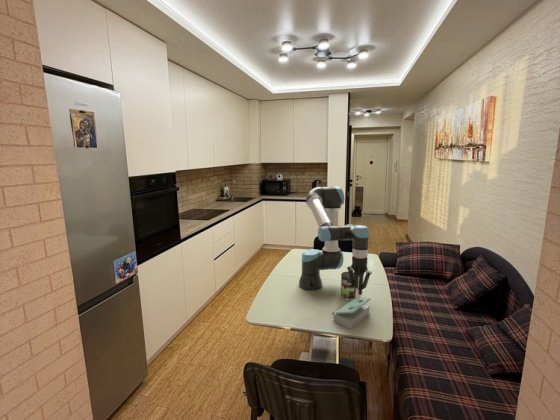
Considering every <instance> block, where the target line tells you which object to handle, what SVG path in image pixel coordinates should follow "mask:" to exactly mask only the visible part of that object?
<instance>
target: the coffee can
mask: <svg viewBox="0 0 560 420" xmlns="http://www.w3.org/2000/svg"><path fill="white" fill-rule="evenodd" d="M353 273H354V271H353ZM340 276H341V281H340V298H342V299H343V300H345V301H352V299H353V298H354V299H355V295H356V293H354V286H352V285H351V282H350V277H349V271H344V272H342V273H340Z"/></svg>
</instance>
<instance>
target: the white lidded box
mask: <svg viewBox="0 0 560 420" xmlns="http://www.w3.org/2000/svg"><path fill="white" fill-rule="evenodd" d="M353 299H354V298H353ZM353 299H352V300H353ZM352 300H351V301H352ZM369 313H370V305H367V304H364V305H363V306H362V307H361V308H359V309H358V310H357V311H355V312H354V313H342V314H336V313H335V312H332V313H331V314H332V315H333V323H336V324H338V325H341V326H343V327H346V328H348V329H353V327H354V326H356V325H357V324H358V323H359V322H360V321H362V320H363V319H364V318H365V317H366V316H368V315H369Z"/></svg>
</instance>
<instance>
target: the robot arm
mask: <svg viewBox="0 0 560 420" xmlns="http://www.w3.org/2000/svg"><path fill="white" fill-rule="evenodd" d="M305 203H306V206H307V207H308V208H309V209H310V210H311V212H312V215H313V217H314V219H315V221H316V223H317V225H318V230H317V235H318V240H319V241H320V242H324V246H323V247H322V249H321V250H322V251H320V249H312V248H311V249H307V250H305V251H303V252H302V255H301V276H300V277H299V281H298V286H299V287H300V288H301V289H303V290H307V291H316V290H319V289H321V288H322V287H323V281H322V278H321V274H320V271H325V270H326V271H327V270H328V271H329V270H338V269H341V268H342V266H343V264H344V260H345V259H344V253H343V251H341V248H340V247H339V241H351V242H352V248H351V249H352V251H351V255H352V256H351V265H349V266H347V267H346V269H347V272H349V277H350V282H351V285H352V286H354V293H356V295H355V300H356V301H359V300H360V299H362V298H361V297H362V296H361V295H362V294H363V290H364V289H366V288H367V286H368V283H369V280H370V277H371V275H372V274H373V272H372V270H371V271H370V270H369V269H368V255H369V252H368V251H369V238H370V237H369V236H370V231H369V230H370V229H369V227H368V226H366V225H363V224H360V225H359V224H357V225H355V224H352V223H347V224H345V225H339V212H340V210H341V208H342V206H343V205H344V203H345V194H344V191H343V189H342V187H340V186H317V187H313V188H312V189H311V190H309V192H307V195H306V199H305ZM353 272H354V273H353ZM364 275H365V276H364Z"/></svg>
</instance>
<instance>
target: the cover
mask: <svg viewBox="0 0 560 420" xmlns="http://www.w3.org/2000/svg"><path fill="white" fill-rule="evenodd" d="M371 300H372V299H371V297H366V298H365V297H364V298H360V300H359V301H356V300H355V299H353V300H349V302H347V303H346V304H345V305H344V306H342V307H340V308H339V309H338V310H336V311H335V312H334V313H336V314H342V313H354V312H355V311H357V310H358V309H359V308H361V307H362V306H363V305H364V304H365V305H367V303H368V302H369V301H371Z"/></svg>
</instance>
